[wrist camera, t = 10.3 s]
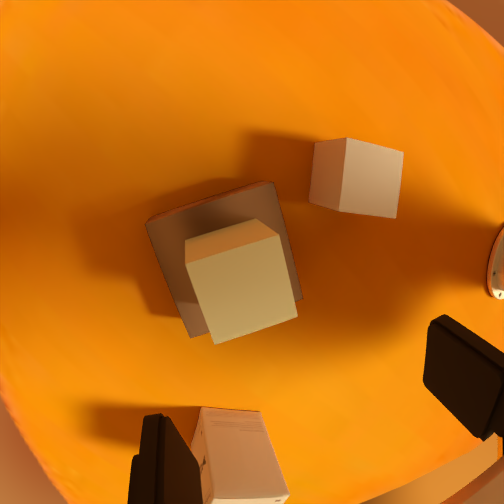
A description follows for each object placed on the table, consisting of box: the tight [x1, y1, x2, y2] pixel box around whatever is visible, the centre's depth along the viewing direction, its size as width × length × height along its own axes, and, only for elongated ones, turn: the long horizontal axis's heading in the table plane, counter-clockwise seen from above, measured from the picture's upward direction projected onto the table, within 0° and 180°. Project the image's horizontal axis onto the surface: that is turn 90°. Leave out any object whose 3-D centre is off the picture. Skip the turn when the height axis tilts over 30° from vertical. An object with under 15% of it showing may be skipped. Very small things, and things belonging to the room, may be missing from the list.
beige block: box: [185, 218, 298, 344], centre depth 21 cm, size 6×6×6 cm
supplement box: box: [191, 407, 290, 504], centre depth 27 cm, size 7×7×13 cm
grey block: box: [308, 138, 404, 219], centre depth 25 cm, size 6×6×6 cm
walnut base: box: [145, 181, 303, 338], centre depth 26 cm, size 10×10×4 cm
